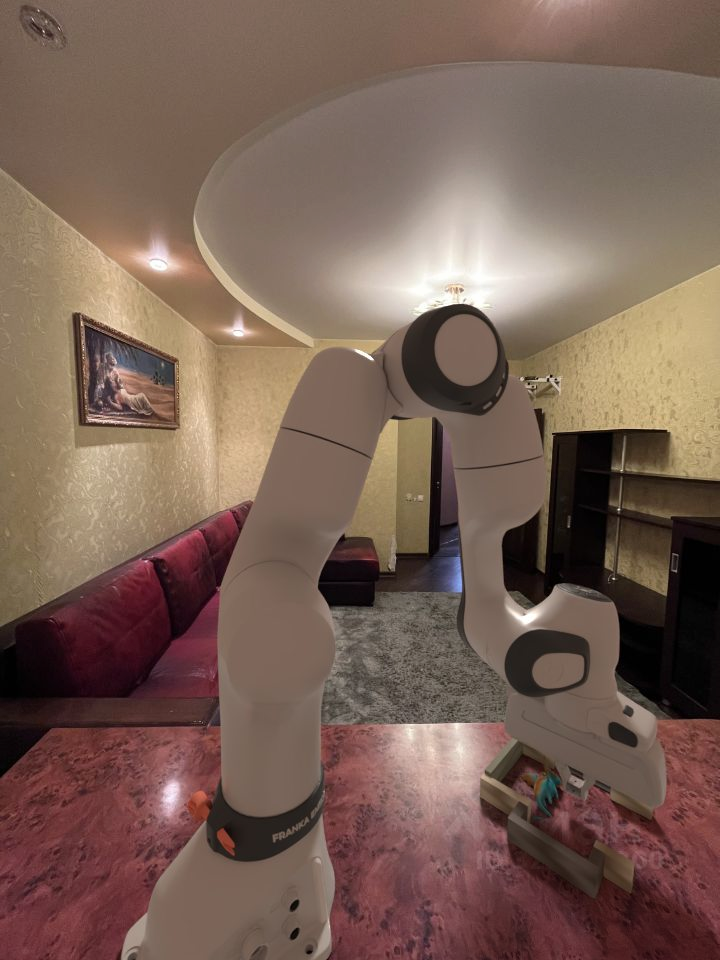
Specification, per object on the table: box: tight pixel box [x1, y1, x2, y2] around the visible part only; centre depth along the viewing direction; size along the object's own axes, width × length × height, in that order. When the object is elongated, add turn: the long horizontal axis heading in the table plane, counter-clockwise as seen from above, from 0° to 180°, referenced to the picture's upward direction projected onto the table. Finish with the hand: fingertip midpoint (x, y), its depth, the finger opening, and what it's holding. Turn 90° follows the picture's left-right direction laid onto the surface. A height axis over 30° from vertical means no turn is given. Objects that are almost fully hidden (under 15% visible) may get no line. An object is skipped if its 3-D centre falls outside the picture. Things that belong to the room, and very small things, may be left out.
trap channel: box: [479, 737, 654, 900], centre depth 59 cm, size 19×22×4 cm
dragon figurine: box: [520, 756, 563, 824], centre depth 59 cm, size 6×7×8 cm
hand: (575, 793), depth 58 cm, fingers closed
